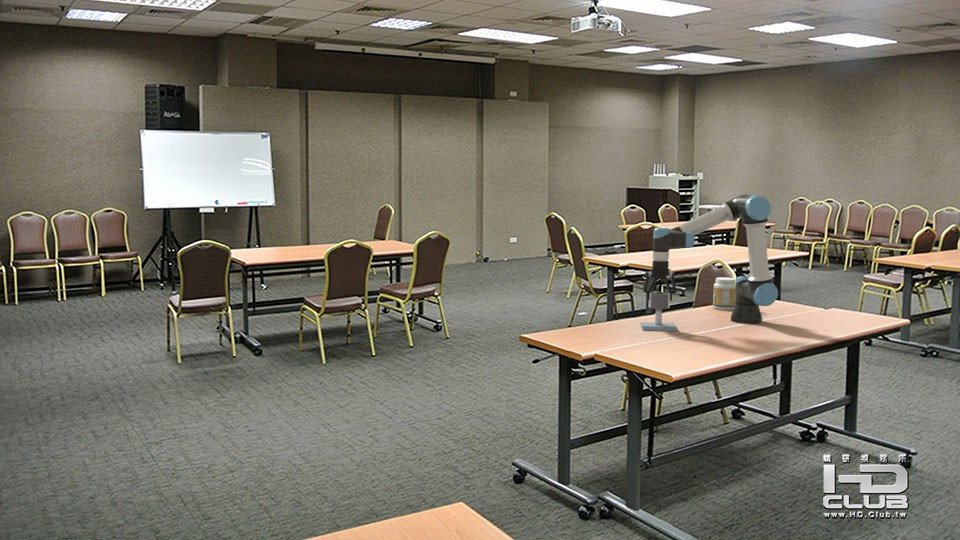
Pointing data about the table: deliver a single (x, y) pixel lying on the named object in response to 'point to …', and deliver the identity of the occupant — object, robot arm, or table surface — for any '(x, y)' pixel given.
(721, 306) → the supplement tub
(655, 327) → the shaft block
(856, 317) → the table surface
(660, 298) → the cylinder
